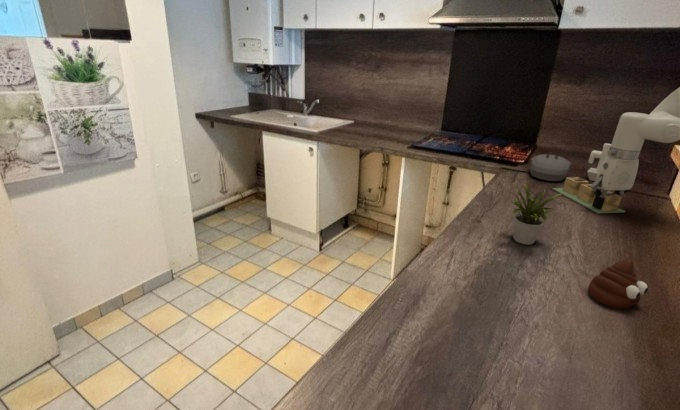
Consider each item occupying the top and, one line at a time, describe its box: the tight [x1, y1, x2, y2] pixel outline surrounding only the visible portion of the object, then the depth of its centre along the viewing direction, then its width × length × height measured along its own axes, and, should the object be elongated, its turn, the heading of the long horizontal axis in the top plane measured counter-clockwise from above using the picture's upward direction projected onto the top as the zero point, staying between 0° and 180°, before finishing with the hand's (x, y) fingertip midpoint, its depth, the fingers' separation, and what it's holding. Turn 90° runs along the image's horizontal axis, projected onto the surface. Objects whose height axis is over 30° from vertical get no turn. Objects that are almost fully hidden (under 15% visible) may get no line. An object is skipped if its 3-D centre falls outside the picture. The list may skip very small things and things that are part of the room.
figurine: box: [587, 143, 611, 182], centre depth 142 cm, size 7×9×15 cm
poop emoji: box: [588, 257, 649, 310], centre depth 73 cm, size 10×8×9 cm
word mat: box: [551, 187, 626, 215], centre depth 125 cm, size 10×22×1 cm, turn 8°
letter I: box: [577, 183, 603, 203], centre depth 123 cm, size 5×5×5 cm
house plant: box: [505, 180, 564, 246], centre depth 95 cm, size 14×14×16 cm
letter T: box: [592, 191, 623, 211], centre depth 117 cm, size 5×5×5 cm
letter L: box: [562, 176, 589, 195], centre depth 130 cm, size 5×5×5 cm
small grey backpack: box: [529, 153, 572, 182], centre depth 148 cm, size 15×8×20 cm
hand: (604, 206), depth 118 cm, fingers closed on letter T, 5 cm apart
